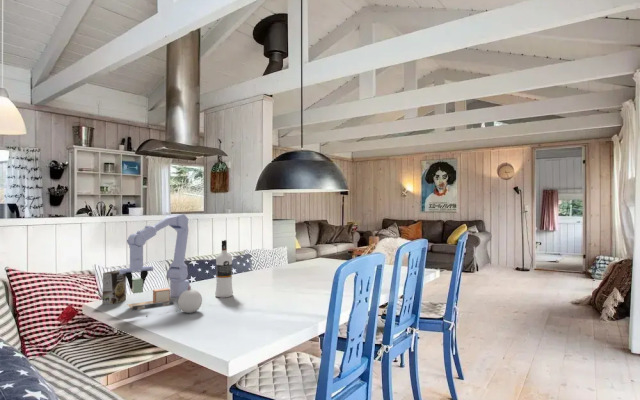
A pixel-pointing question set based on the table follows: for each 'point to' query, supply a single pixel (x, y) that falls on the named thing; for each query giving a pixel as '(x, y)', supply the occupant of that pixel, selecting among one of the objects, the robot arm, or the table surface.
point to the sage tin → (137, 285)
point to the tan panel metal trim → (148, 304)
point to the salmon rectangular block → (161, 295)
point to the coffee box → (114, 287)
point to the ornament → (190, 300)
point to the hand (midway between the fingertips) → (136, 287)
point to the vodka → (224, 273)
